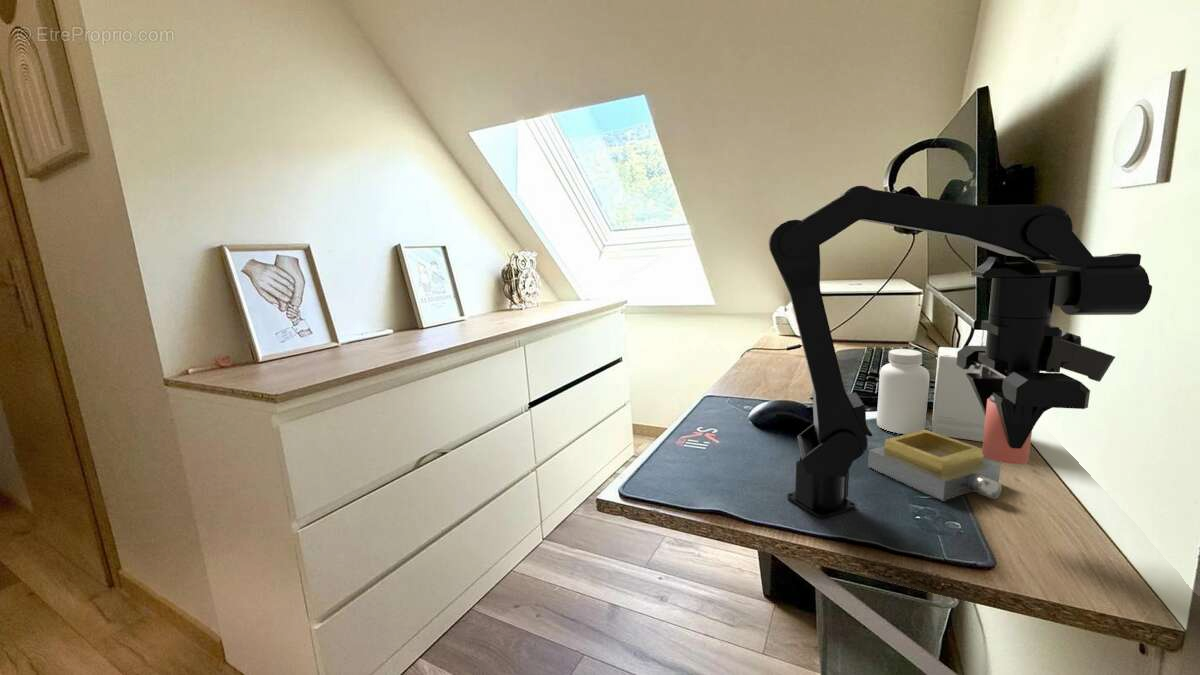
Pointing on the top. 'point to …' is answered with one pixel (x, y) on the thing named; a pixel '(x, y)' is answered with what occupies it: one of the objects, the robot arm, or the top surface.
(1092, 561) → the top surface
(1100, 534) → the top surface
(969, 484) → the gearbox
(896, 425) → the pill bottle
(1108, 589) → the top surface
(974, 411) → the supplement box
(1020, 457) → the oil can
